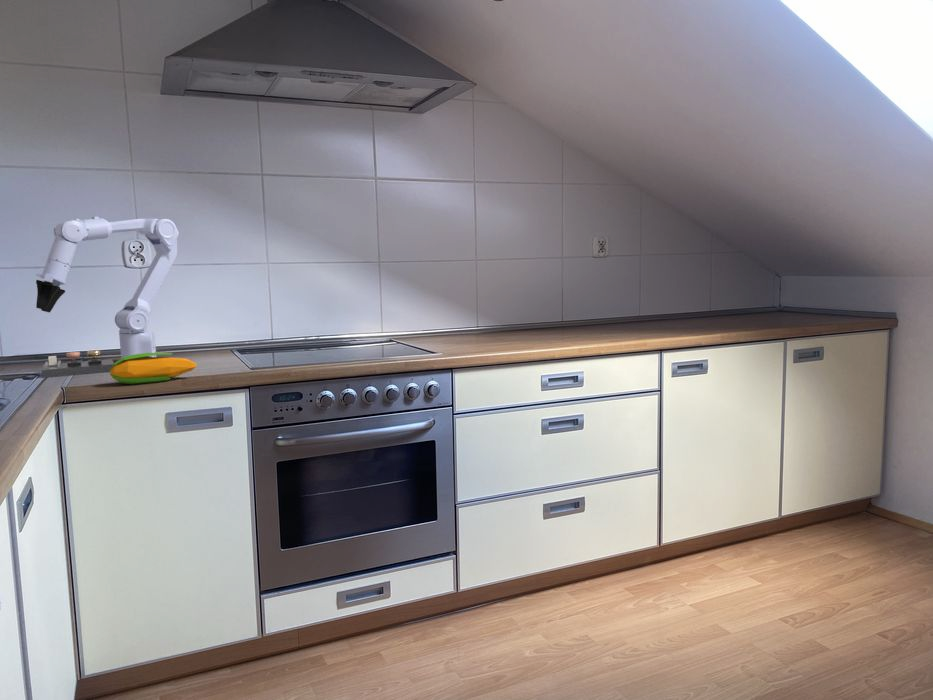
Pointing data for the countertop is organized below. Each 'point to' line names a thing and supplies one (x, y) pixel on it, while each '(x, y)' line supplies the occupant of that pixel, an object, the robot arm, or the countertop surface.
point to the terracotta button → (73, 355)
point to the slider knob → (52, 360)
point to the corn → (149, 368)
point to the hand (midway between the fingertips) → (43, 310)
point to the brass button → (93, 353)
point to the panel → (76, 368)
